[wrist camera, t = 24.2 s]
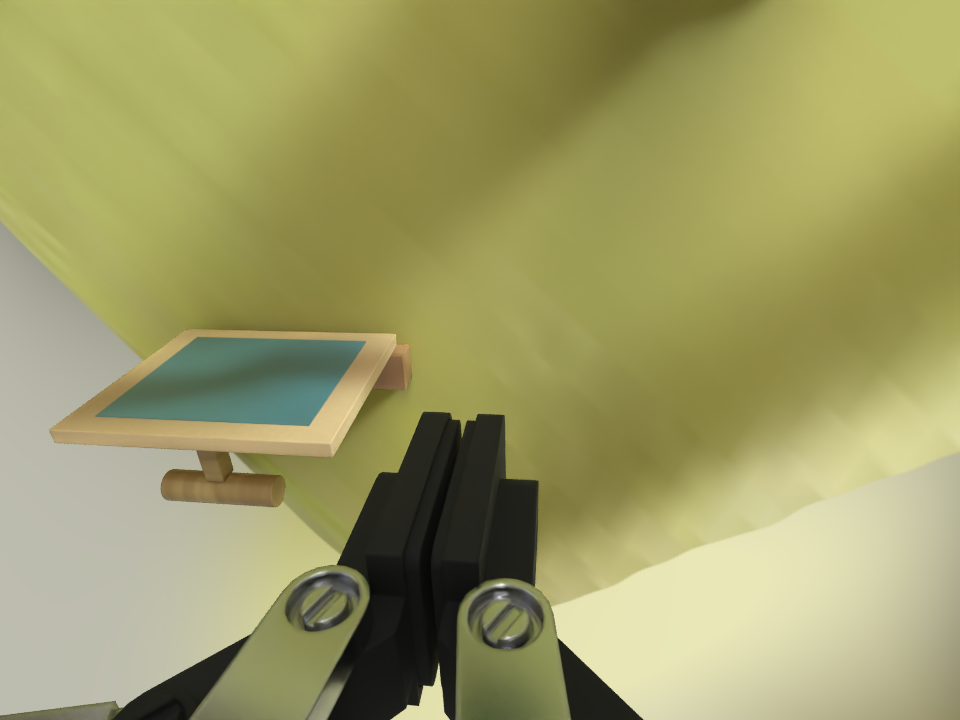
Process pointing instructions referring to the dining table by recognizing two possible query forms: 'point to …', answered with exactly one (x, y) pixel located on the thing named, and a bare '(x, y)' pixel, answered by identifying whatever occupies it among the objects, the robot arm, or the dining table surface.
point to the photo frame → (235, 405)
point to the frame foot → (396, 370)
